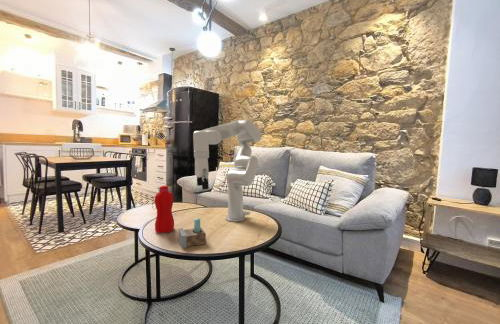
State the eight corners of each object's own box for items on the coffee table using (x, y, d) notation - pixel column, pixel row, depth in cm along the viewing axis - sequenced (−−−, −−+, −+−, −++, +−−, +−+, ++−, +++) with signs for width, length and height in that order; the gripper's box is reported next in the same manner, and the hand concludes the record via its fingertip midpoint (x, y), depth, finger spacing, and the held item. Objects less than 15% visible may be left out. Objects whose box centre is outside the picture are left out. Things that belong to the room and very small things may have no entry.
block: (201, 236, 121) (201, 227, 120) (205, 243, 113) (205, 233, 112) (183, 239, 117) (183, 229, 116) (186, 246, 109) (186, 236, 108)
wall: (182, 239, 117) (182, 228, 117) (186, 247, 108) (186, 235, 108) (178, 240, 116) (178, 228, 116) (182, 248, 107) (182, 236, 107)
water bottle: (155, 227, 133) (154, 184, 131) (175, 227, 134) (174, 184, 132) (150, 234, 124) (148, 187, 122) (171, 233, 125) (170, 187, 123)
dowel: (199, 237, 117) (199, 217, 116) (201, 239, 115) (200, 219, 114) (193, 238, 116) (193, 218, 115) (194, 240, 113) (194, 220, 112)
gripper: (190, 154, 127) (191, 184, 129) (198, 156, 111) (200, 191, 113) (203, 153, 130) (204, 183, 132) (213, 155, 115) (214, 189, 117)
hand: (202, 187), depth 123 cm, fingers open, 9 cm apart
